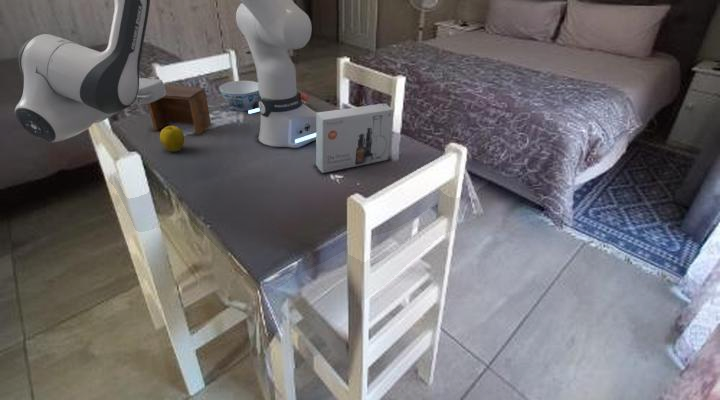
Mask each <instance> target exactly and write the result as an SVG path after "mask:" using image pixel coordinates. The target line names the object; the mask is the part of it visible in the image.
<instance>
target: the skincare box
mask: <svg viewBox="0 0 720 400" xmlns="http://www.w3.org/2000/svg"><path fill="white" fill-rule="evenodd" d="M394 110H395V109H394V108H393V107H391V106H390V105H388V104H387V103H378V104H369V105H363V106H356V107H348V108H342V109H341V108H339V109H333V110H326V111H318V112H316V140H315V148H316V149H315V155H316V156H315V158H316V159H315V166H316V168H317V169H318V170H319V171H320V172H321V173H322V174H326V173H331V172H335V171H339V170H344V169H349V168H354V167H360V166H364V165H370V164H375V163H379V162H380V163H381V162H383V161H388V160H389V153H390V144H391V135H392V127H393V120H394V119H393V118H394Z"/></svg>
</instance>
